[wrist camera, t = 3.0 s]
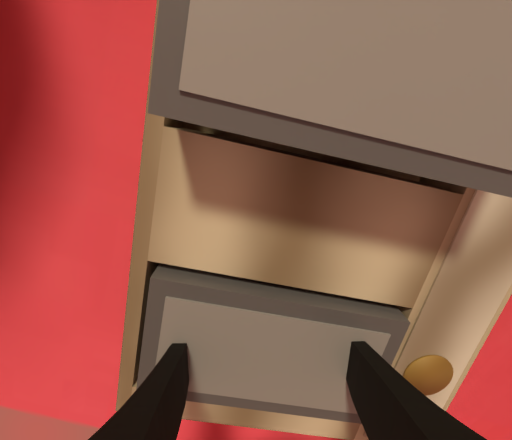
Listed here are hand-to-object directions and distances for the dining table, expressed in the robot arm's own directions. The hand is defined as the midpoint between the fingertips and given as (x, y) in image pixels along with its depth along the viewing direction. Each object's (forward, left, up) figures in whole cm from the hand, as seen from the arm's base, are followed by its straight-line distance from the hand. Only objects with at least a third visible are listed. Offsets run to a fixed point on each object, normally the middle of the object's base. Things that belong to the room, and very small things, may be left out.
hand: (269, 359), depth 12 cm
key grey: (0, -12, -1) cm, 12 cm away
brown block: (0, 0, -3) cm, 3 cm away
